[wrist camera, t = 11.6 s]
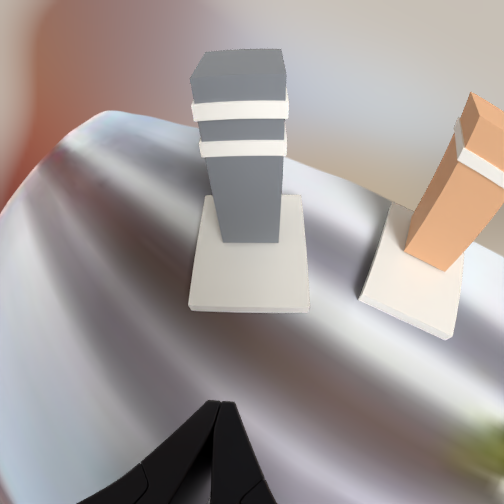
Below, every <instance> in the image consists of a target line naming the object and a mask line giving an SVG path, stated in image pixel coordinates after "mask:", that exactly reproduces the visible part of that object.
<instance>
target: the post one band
mask: <svg viewBox="0 0 504 504" xmlns="http://www.w3.org/2000/svg"><path fill="white" fill-rule="evenodd" d="M503 203H504V112H503V111H502V110H500V109H499V108H497V107H496V106H494V105H493V104H491V103H489V102H488V101H486V100H484V99H483V98H481V97H479V96H478V95H476V94H474V93H472V92H470V94H469V97H468V100H467V103H466V105H465V108H464V110H463V113H462V115H461V118H459V117H458V119H457V121H456V124H455V126H454V134H453V137H452V139H451V141H450V143H449V146H448V148H447V150H446V152H445V154H444V156H443V158H442V160H441V162H440V164H439V167H438V168H437V171H436V172H435V175H434V176H433V179H432V180H431V182H430V184H429V186H428V188H427V190H426V192H425V194H424V195H423V197H422V199H421V201H420V203H419V204H418V206H417V208H416V210H415V212H414V213H413V215H412V217H411V222H410V227H409V231H408V236H407V240H406V244H405V249H404V252H406V253H408V254H410V255H412V256H414V257H416V258H418V259H420V260H422V261H424V262H426V263H428V264H430V265H432V266H434V267H436V268H438V269H440V270H442V271H444V272H445V271H446V270H447V269H448V268H449V267H450V266H451V265H452V264H453V263H454V262H455V261H456V260H457V259H458V258H459V256H460V255H461V254H462V253H463V252H464V251H465V250H466V249H467V248H468V246H469V245H470V244H471V243H472V242H473V241H474V240H475V238H476V237H477V236H478V235H479V234H480V232H481V231H482V230H483V229H484V228H485V226H486V225H487V224H488V223H489V221H490V220H491V219H492V217H493V216H494V215H495V214H496V212H497V211H498V210H499V208H500V207H501V206H502V204H503Z"/></svg>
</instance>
